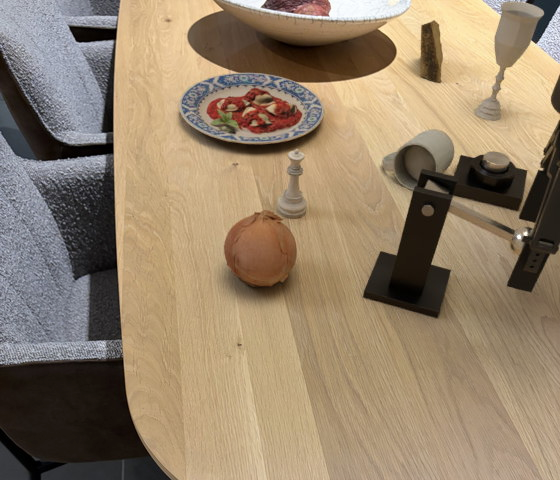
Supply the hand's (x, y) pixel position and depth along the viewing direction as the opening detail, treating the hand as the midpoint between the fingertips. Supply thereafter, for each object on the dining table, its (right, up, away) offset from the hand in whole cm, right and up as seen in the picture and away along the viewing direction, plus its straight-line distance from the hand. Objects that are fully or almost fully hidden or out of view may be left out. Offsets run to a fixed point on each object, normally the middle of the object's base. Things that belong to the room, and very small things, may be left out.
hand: (524, 252), depth 72 cm
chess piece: (-27, +10, +19) cm, 35 cm away
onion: (-32, -2, +9) cm, 33 cm away
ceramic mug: (-8, +18, +27) cm, 33 cm away
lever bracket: (-12, -3, +10) cm, 16 cm away
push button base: (+4, +16, +26) cm, 31 cm away
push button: (+5, +18, +23) cm, 30 cm away
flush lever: (-6, +3, 0) cm, 7 cm away
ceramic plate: (-34, +32, +37) cm, 60 cm away
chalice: (+10, +35, +43) cm, 56 cm away
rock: (+2, +49, +54) cm, 73 cm away
